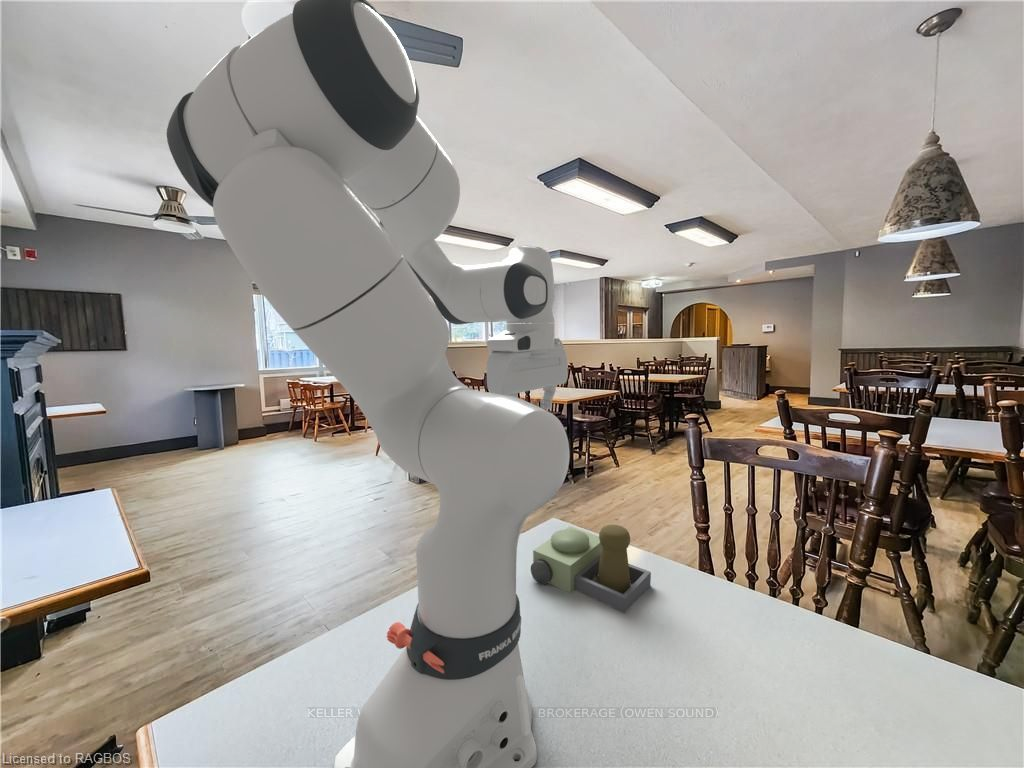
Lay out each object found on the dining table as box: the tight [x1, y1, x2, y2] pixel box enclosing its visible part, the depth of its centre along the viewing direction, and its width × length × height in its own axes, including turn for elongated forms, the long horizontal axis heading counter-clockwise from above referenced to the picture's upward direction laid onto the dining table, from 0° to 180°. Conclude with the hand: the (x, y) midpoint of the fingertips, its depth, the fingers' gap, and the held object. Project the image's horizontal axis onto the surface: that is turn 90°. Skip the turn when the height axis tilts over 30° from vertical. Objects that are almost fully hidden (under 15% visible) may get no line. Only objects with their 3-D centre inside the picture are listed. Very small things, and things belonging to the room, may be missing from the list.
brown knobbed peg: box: [596, 524, 632, 594], centre depth 74 cm, size 6×6×11 cm
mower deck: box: [530, 526, 652, 614], centre depth 77 cm, size 14×18×6 cm
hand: (531, 412), depth 82 cm, fingers open, 8 cm apart
